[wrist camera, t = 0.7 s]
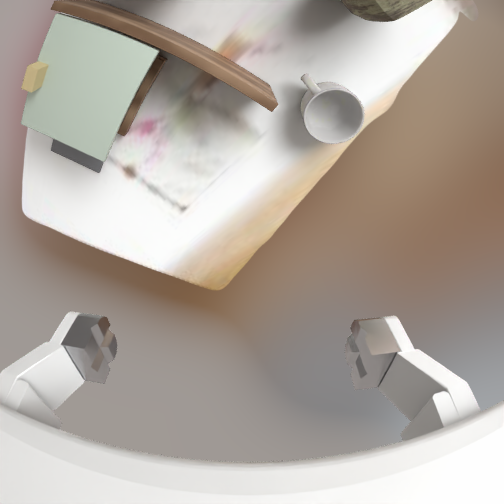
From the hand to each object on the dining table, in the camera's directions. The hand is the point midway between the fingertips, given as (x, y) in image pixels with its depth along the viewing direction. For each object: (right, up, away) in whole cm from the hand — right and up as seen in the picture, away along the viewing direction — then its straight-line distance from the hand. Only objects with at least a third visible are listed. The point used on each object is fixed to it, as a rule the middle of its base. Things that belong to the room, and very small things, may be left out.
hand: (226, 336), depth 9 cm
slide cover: (-25, +28, +23) cm, 44 cm away
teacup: (+14, +32, +38) cm, 52 cm away
